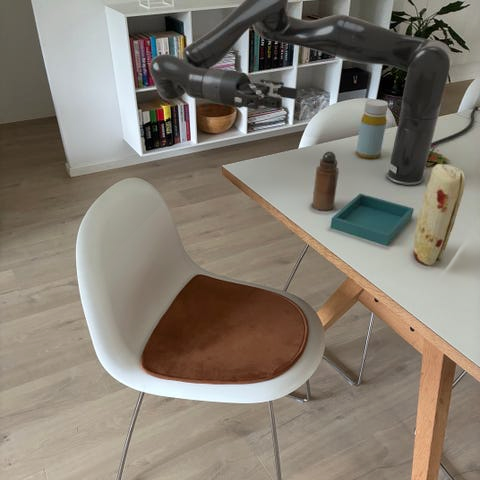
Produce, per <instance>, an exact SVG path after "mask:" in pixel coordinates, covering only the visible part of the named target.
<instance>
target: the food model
mask: <svg viewBox="0 0 480 480" xmlns="http://www.w3.org/2000/svg"><path fill="white" fill-rule="evenodd" d="M465 186H466V178H465V174H464V171H463V170H461V169H460V168H458V167H456V166H453V165H450V164H444V163H443V164H439V163H437V164H435V166H433V168H432V170H431V173H430V176H429V179H428V181H427V185H426V188H425V191H424V195H423V198H422V202H421V206H420V209H419V213H418V216H417V220H416V224H415V230H414V235H413V236H414V237H413V245H412V253H413V257H414V260H415V261H416V262H417V263H419V264H420V265H422V266H428V267H430V266H433V265H434V264H435V263H436V261H437V260H438V261H439V260H441V258H442V257H444V256H443V255H444V254H445V251H446V248H447V246H448V243H449V240H450V236H451V233H452V231H453V228H454V225H455V222H456V219H457V214H458V212H459V207H460V204H461V201H462V198H463V195H464V190H465Z"/></svg>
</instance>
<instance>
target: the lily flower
mask: <svg viewBox="0 0 480 480" xmlns="http://www.w3.org/2000/svg"><path fill="white" fill-rule="evenodd" d="M432 147H433V148H432ZM430 148H431V150H430V151H429V155H428V159H427V163H426V166H427V167H430V166H432V165H434V164H435V163H437V164H443V165H444V163H443V162H452V160H450V159H448V158H446V157H443V156H444V154H442V153H438V152H439V151H440V149H438V150H437V148H438V145H435V146H431V147H430ZM435 150H436V151H435Z"/></svg>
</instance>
